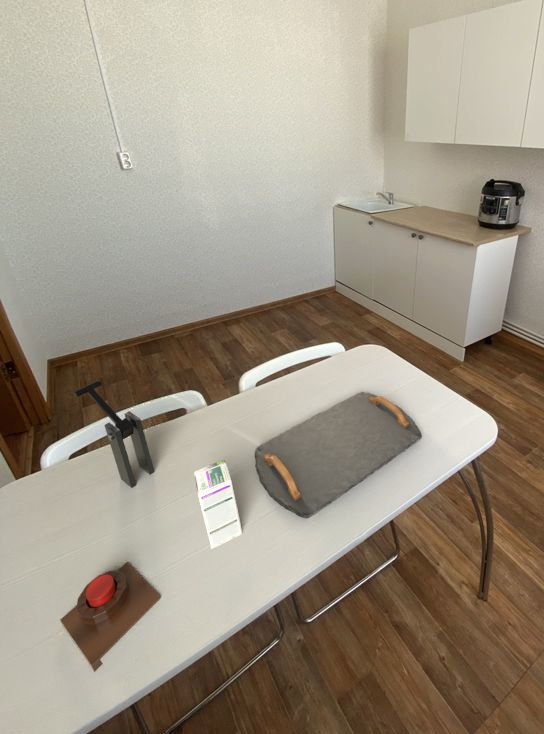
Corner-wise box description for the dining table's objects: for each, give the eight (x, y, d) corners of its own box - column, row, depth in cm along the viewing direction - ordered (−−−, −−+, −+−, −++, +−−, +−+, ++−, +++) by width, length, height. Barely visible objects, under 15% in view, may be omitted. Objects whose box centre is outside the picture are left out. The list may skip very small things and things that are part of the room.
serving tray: (294, 539, 71) (291, 515, 69) (242, 463, 88) (239, 442, 85) (432, 439, 94) (433, 418, 91) (370, 394, 110) (370, 375, 108)
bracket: (108, 482, 83) (89, 424, 78) (144, 458, 89) (129, 402, 84) (132, 504, 78) (114, 443, 73) (169, 476, 84) (154, 419, 79)
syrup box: (244, 538, 71) (233, 479, 66) (210, 555, 68) (197, 495, 63) (236, 514, 76) (226, 457, 71) (205, 528, 73) (192, 470, 68)
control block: (62, 625, 59) (55, 611, 57) (128, 567, 67) (123, 553, 65) (94, 672, 53) (87, 657, 52) (162, 603, 61) (157, 589, 60)
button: (84, 598, 59) (81, 590, 59) (108, 577, 62) (106, 569, 62) (95, 612, 58) (92, 605, 57) (120, 590, 60) (117, 582, 60)
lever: (74, 396, 83) (73, 389, 82) (99, 384, 87) (98, 377, 86) (115, 444, 77) (115, 437, 76) (140, 429, 81) (140, 422, 80)
